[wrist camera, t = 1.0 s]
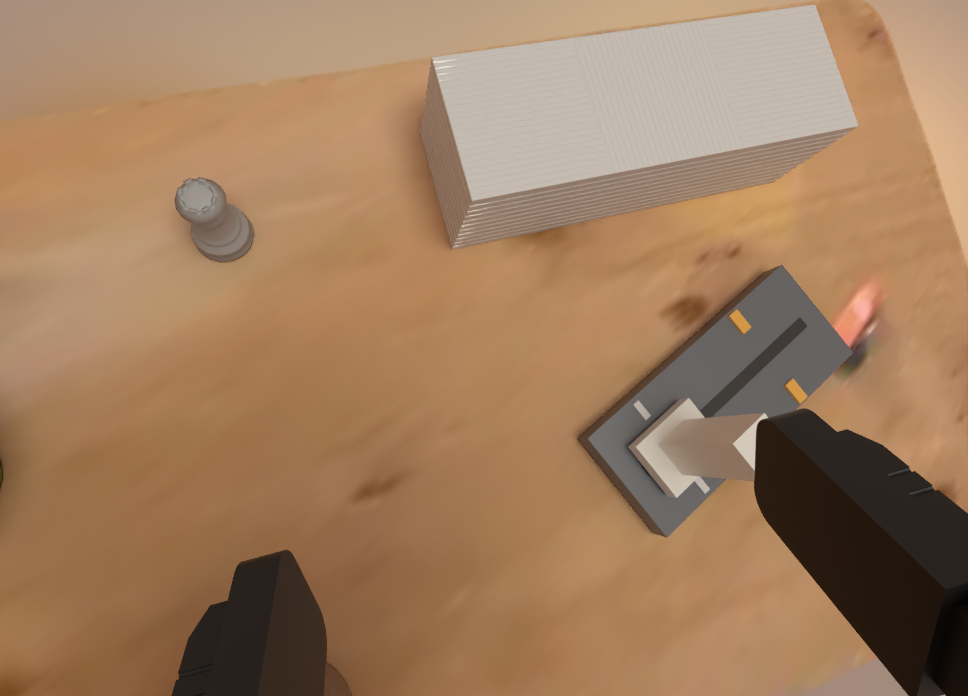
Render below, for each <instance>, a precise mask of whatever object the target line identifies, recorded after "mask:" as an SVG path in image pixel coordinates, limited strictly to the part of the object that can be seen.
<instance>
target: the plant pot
mask: <svg viewBox="0 0 968 696" xmlns="http://www.w3.org/2000/svg"><path fill="white" fill-rule="evenodd" d="M1 482H2V469H1V465H0V486H1Z"/></svg>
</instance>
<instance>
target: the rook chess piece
mask: <svg viewBox="0 0 968 696" xmlns="http://www.w3.org/2000/svg"><path fill="white" fill-rule="evenodd" d="M183 182H184V184H183V185H182V186H181V187H180V188H179V187H178V190H177V193H176V197H175V205H176V209H177V211H178V212H179V214H180V215H181V217H183V218H184V219H186V220H187V221H189V222H191V223H192V224H191V233H192V239H193V241H194V242H195V244H196V246H197V247H198V249H199V251H200V252H201V253H202V254H204V255H205V256H207V257H208V258H210V259H213V260H217V261H221V262H223V261H230V260H235V259H237V258H238V257H240V256H242V255H244V254H245V253H246V251H247V250H248V249H249V248H250V246H251V244H252V240H253V237H254V234H253V227H252V224H251V223H250V221H249V220H248V218H247V216H246V215H245V214H244V213H243V212H242V211H240V210H239V209H238V208H236V207H235V206H233V205H229V204H227V202H226V196H225V193H224V191H223V190H222V188H221V187H220V186H219V185H218V184H217V183H215V182H214V181H212V180H208V179H204V178H199V177H198V179H192V180H191V179H190V178H189V179H187V180H185V181H183Z"/></svg>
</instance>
